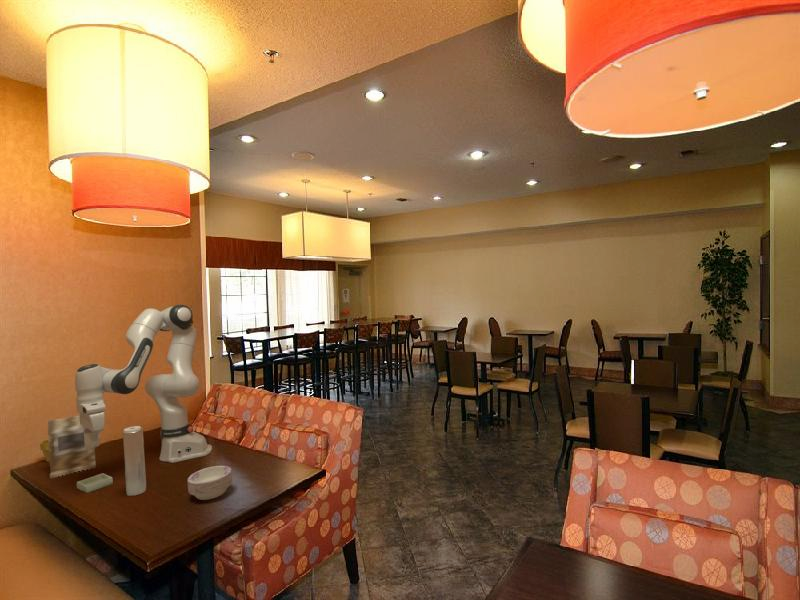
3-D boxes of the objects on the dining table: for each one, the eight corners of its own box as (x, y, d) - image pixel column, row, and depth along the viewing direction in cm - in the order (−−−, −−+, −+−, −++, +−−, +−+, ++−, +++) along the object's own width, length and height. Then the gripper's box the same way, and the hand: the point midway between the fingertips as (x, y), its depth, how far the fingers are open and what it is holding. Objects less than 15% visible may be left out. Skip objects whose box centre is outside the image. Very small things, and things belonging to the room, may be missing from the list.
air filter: (136, 496, 158) (132, 430, 157) (122, 495, 159) (118, 430, 159) (150, 488, 164) (146, 425, 164) (136, 487, 165) (132, 425, 165)
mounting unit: (95, 461, 196) (92, 412, 196) (95, 467, 188) (92, 416, 188) (51, 471, 186) (48, 419, 186) (49, 478, 178) (46, 424, 178)
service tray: (103, 479, 175) (102, 473, 175) (112, 483, 170) (112, 477, 170) (77, 488, 168) (76, 481, 167) (86, 493, 162) (86, 486, 162)
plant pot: (42, 459, 202) (41, 439, 202) (69, 454, 208) (68, 434, 208) (40, 466, 193) (38, 445, 193) (68, 460, 200) (67, 439, 200)
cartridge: (102, 443, 172) (101, 426, 172) (97, 447, 167) (96, 429, 167) (87, 445, 170) (86, 428, 170) (82, 449, 165) (81, 431, 165)
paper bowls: (187, 492, 159) (186, 471, 159) (230, 481, 167) (229, 461, 167) (189, 508, 146) (188, 486, 146) (235, 496, 153) (234, 475, 153)
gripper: (73, 403, 173) (75, 436, 173) (87, 410, 159) (90, 446, 160) (92, 400, 177) (94, 432, 178) (107, 406, 164) (109, 441, 165)
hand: (92, 439), depth 169 cm, fingers closed on cartridge, 5 cm apart
